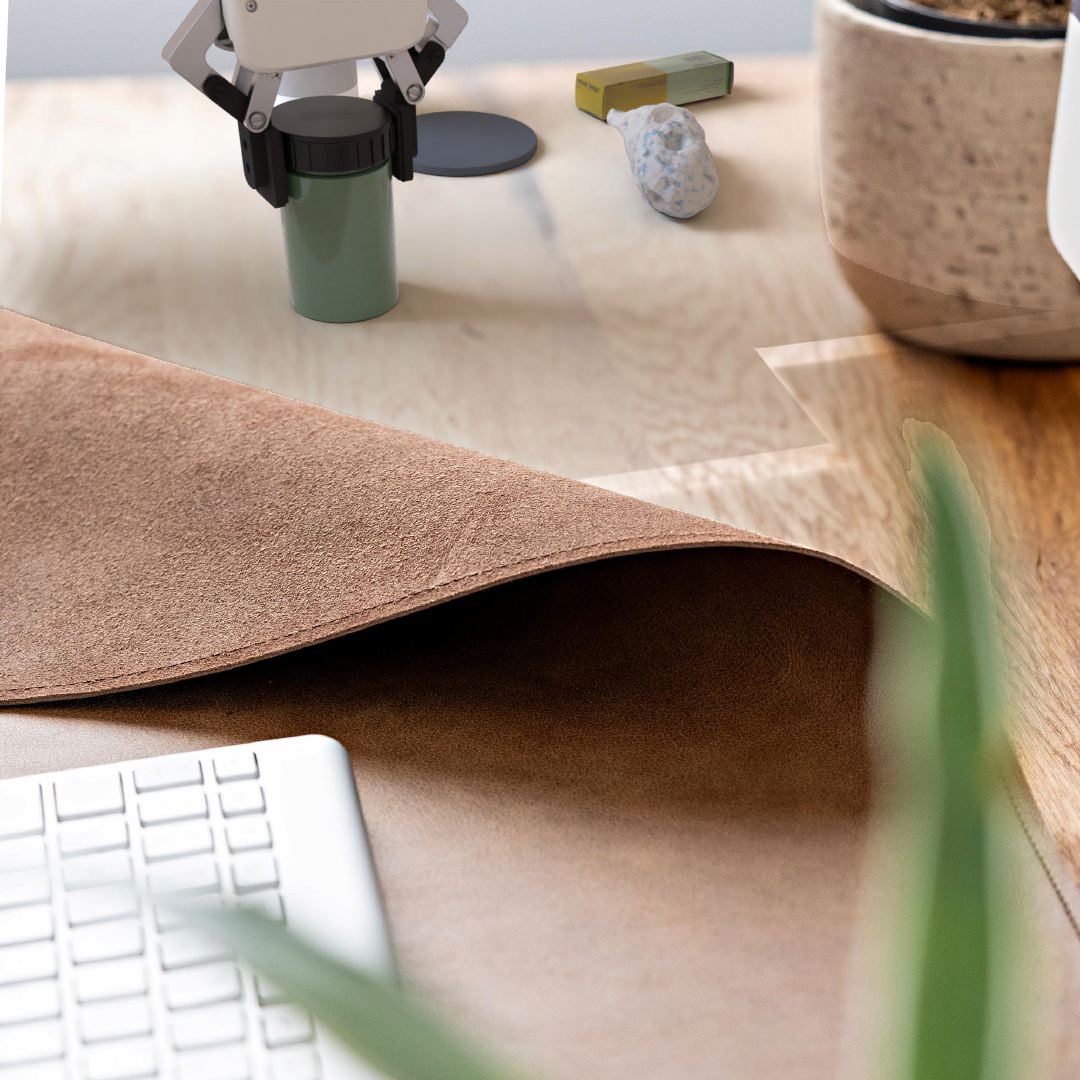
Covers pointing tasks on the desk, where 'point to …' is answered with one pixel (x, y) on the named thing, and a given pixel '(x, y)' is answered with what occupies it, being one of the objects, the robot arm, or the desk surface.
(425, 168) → the coaster
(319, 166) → the jar lid
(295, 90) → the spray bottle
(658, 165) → the decorative stone
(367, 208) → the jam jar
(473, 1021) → the desk surface
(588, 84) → the medication box
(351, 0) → the robot arm
